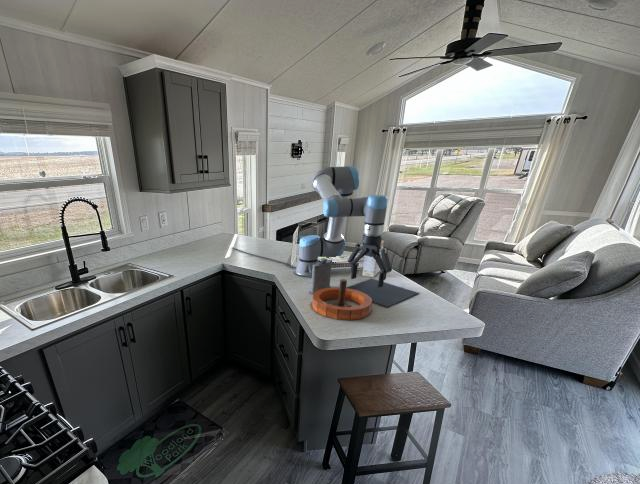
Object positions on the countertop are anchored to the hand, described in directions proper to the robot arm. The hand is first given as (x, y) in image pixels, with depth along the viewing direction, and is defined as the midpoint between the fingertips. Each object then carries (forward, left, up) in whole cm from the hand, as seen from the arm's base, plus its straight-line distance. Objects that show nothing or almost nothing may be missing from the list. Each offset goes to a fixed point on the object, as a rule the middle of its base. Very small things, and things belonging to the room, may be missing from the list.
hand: (366, 282), depth 144 cm
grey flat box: (-33, +9, -17) cm, 38 cm away
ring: (-12, 0, -17) cm, 21 cm away
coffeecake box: (-33, +54, -17) cm, 66 cm away
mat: (-12, +31, -17) cm, 37 cm away
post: (-12, 0, -17) cm, 21 cm away
